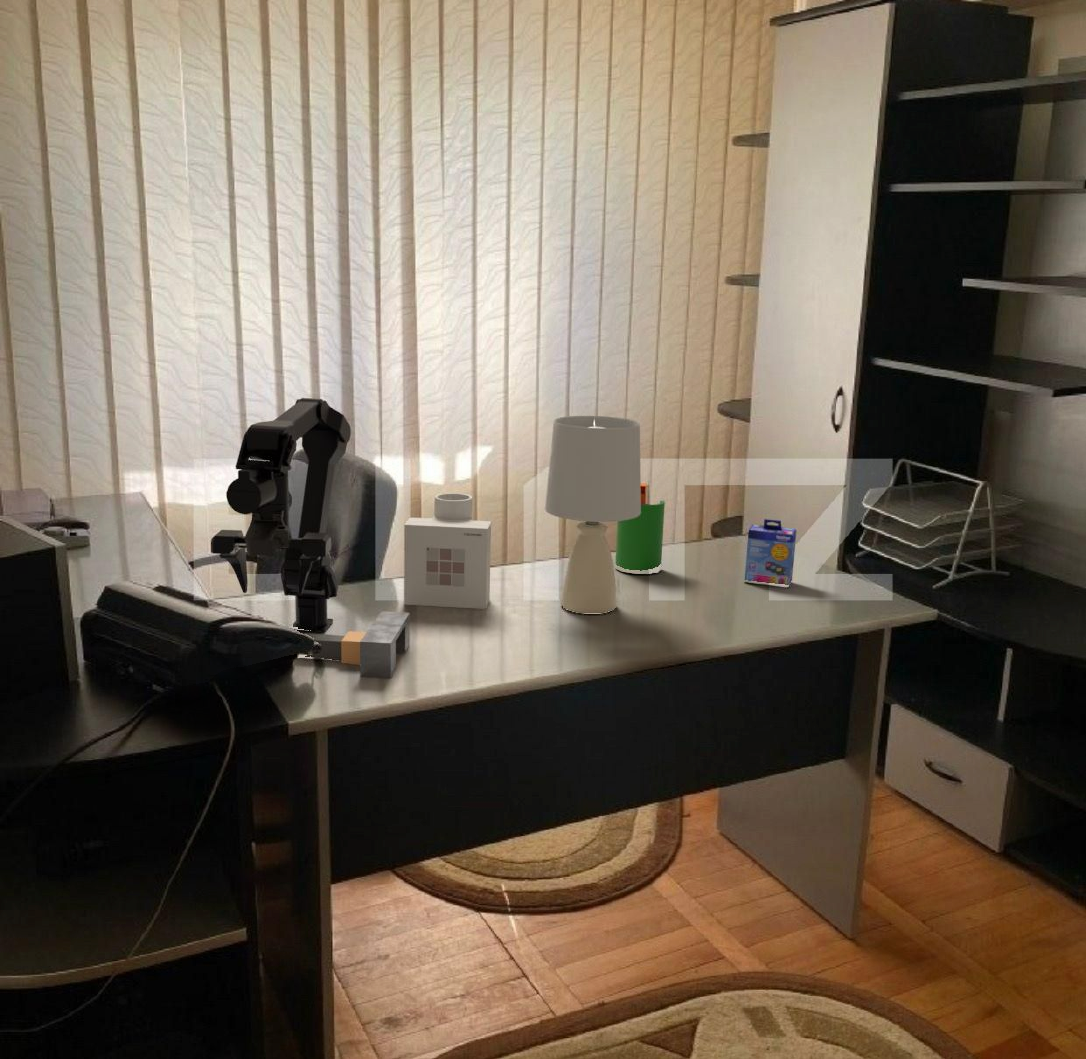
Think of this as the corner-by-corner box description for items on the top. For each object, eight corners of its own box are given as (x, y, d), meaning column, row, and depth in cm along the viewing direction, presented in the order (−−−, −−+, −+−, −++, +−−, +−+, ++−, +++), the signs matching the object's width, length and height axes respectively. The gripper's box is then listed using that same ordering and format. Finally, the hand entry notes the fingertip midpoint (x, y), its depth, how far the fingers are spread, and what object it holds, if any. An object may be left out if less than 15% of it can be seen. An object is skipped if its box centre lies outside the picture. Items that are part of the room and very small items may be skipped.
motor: (658, 565, 255) (663, 478, 251) (663, 576, 247) (669, 486, 242) (613, 564, 255) (618, 477, 250) (617, 575, 246) (622, 485, 241)
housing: (381, 643, 199) (381, 611, 197) (409, 645, 198) (409, 612, 197) (360, 676, 183) (360, 641, 182) (390, 678, 183) (390, 643, 181)
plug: (303, 650, 194) (302, 628, 193) (371, 654, 193) (371, 632, 192) (294, 660, 189) (294, 638, 188) (365, 664, 188) (364, 642, 187)
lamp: (542, 620, 214) (548, 427, 205) (541, 591, 232) (547, 413, 223) (640, 623, 214) (650, 430, 206) (631, 594, 233) (640, 416, 224)
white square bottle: (403, 605, 221) (403, 505, 216) (420, 578, 239) (421, 486, 234) (485, 609, 220) (488, 509, 215) (496, 582, 238) (498, 490, 233)
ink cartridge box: (743, 583, 243) (748, 518, 240) (746, 577, 248) (751, 513, 245) (789, 589, 240) (795, 523, 237) (792, 582, 245) (798, 517, 242)
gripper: (199, 510, 176) (202, 605, 180) (318, 514, 176) (319, 609, 180) (218, 495, 187) (221, 586, 190) (331, 499, 187) (332, 589, 191)
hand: (272, 593), depth 187 cm, fingers open, 9 cm apart
